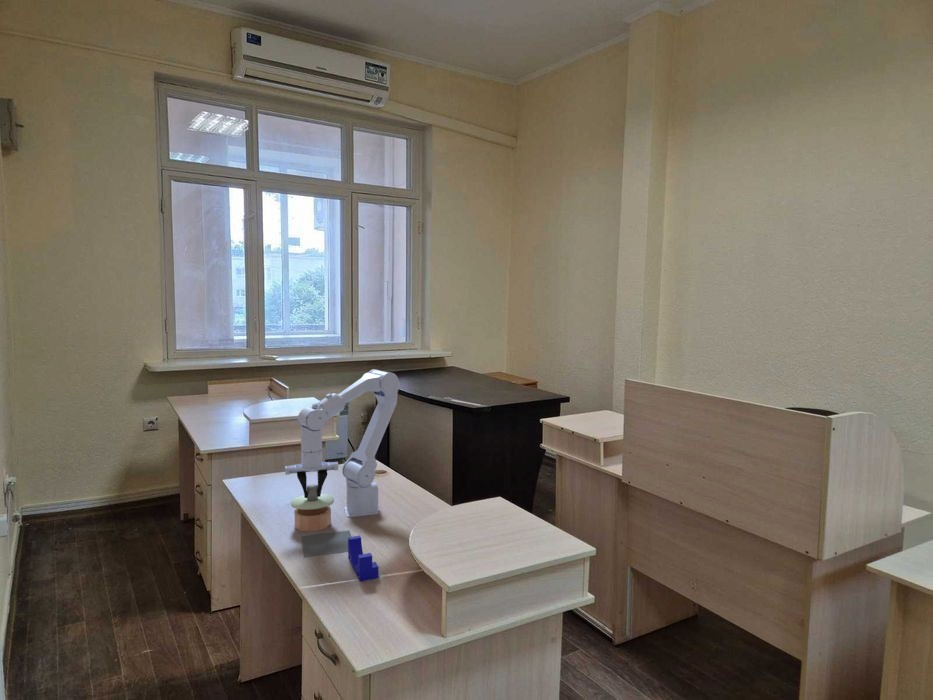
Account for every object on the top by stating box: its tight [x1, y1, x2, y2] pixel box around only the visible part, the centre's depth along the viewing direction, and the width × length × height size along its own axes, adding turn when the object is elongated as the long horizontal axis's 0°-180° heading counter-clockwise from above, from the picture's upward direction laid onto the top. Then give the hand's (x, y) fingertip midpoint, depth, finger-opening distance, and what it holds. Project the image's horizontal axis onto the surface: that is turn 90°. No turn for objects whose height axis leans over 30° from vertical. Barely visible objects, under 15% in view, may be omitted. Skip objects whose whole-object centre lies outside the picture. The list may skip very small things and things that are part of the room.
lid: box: [290, 484, 335, 510], centre depth 166 cm, size 12×12×5 cm
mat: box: [301, 529, 352, 558], centre depth 155 cm, size 13×13×1 cm
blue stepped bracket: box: [347, 534, 380, 582], centre depth 142 cm, size 12×4×6 cm, turn 24°
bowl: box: [294, 505, 332, 533], centre depth 167 cm, size 10×10×4 cm
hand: (312, 496), depth 167 cm, fingers closed on lid, 3 cm apart
